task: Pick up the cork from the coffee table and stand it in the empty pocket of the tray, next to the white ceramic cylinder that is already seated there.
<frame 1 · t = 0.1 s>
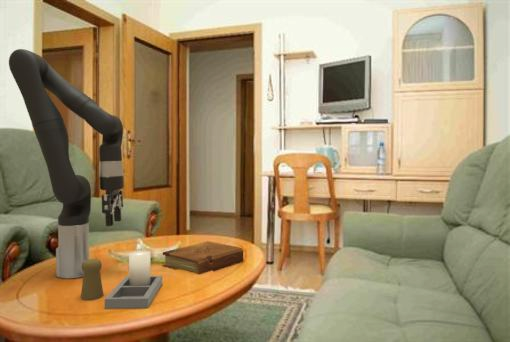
hand: (113, 223, 131), 17 cm above the table, tool pointing down, fingers open, 8 cm apart
cork: (92, 299, 110), on the table
diary: (203, 265, 145), on the table
tray: (136, 297, 111), on the table
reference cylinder: (140, 289, 115), point 1 cm above the table, touching tray
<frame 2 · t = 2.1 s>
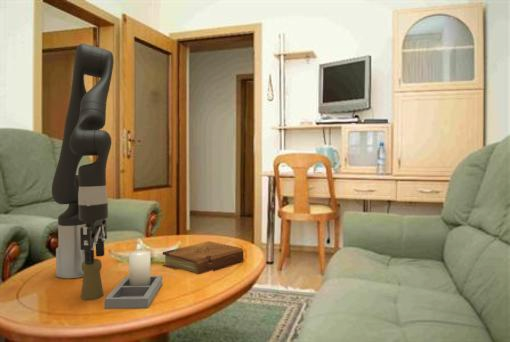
hand: (95, 260, 110), 11 cm above the table, tool pointing down, fingers open, 8 cm apart
nothing on the table moved.
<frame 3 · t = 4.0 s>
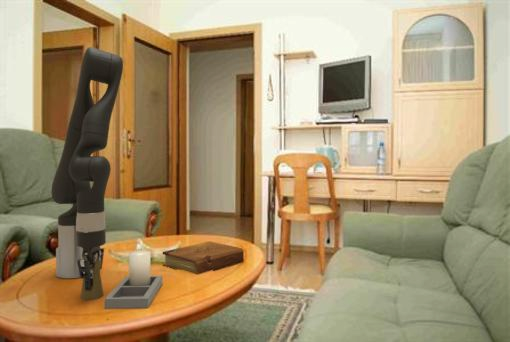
hand: (92, 288, 110), 3 cm above the table, tool pointing down, fingers closed on cork, 3 cm apart
cork: (92, 299, 110), on the table, touching gripper
everything else where it was.
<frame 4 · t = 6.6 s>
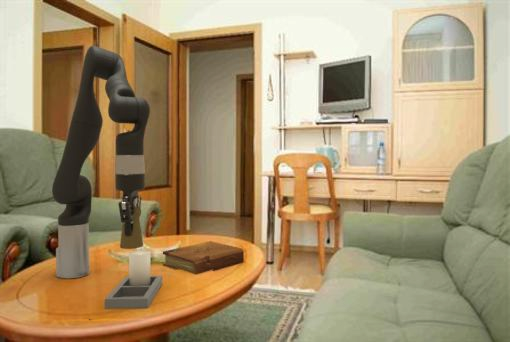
hand: (131, 235, 106), 18 cm above the table, tool pointing down, fingers closed on cork, 3 cm apart
cork: (131, 246, 106), point 15 cm above the table, touching gripper
everything else where it was.
when the fingers open (5 cm above the table, at t = 9.3 s): cork drops 1 cm, resting on tray.
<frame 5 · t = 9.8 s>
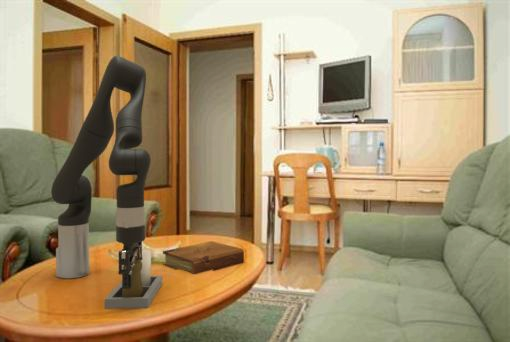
hand: (131, 283, 106), 6 cm above the table, tool pointing down, fingers open, 8 cm apart
cork: (132, 300, 107), resting on tray
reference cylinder: (140, 288, 115), point 1 cm above the table, tilted 6°, touching gripper, tray
everything else where it was.
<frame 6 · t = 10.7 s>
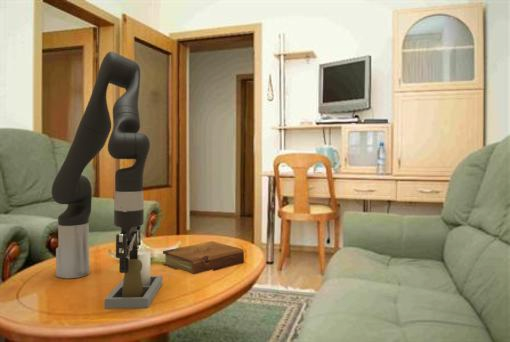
hand: (128, 267, 106), 10 cm above the table, tool pointing down, fingers open, 8 cm apart
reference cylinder: (140, 289, 115), point 1 cm above the table, touching tray
everything else where it was.
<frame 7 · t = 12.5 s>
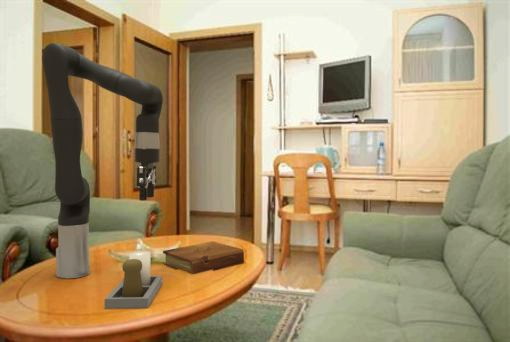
hand: (146, 198, 124), 26 cm above the table, tool pointing down, fingers open, 8 cm apart
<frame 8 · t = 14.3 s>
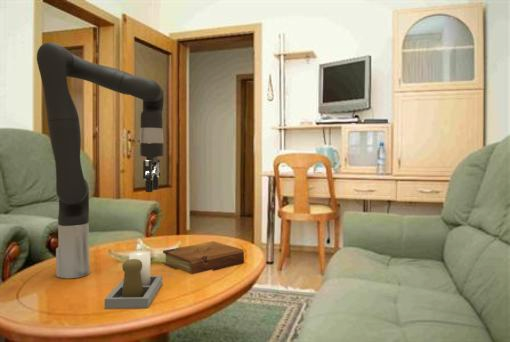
hand: (152, 190, 131), 28 cm above the table, tool pointing down, fingers open, 8 cm apart
at the end: cork 1.0 cm from the target spot on the tray, point 0.4 cm above the tray's base; cork tilted 0°; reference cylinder moved 0.0 cm from its start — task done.
